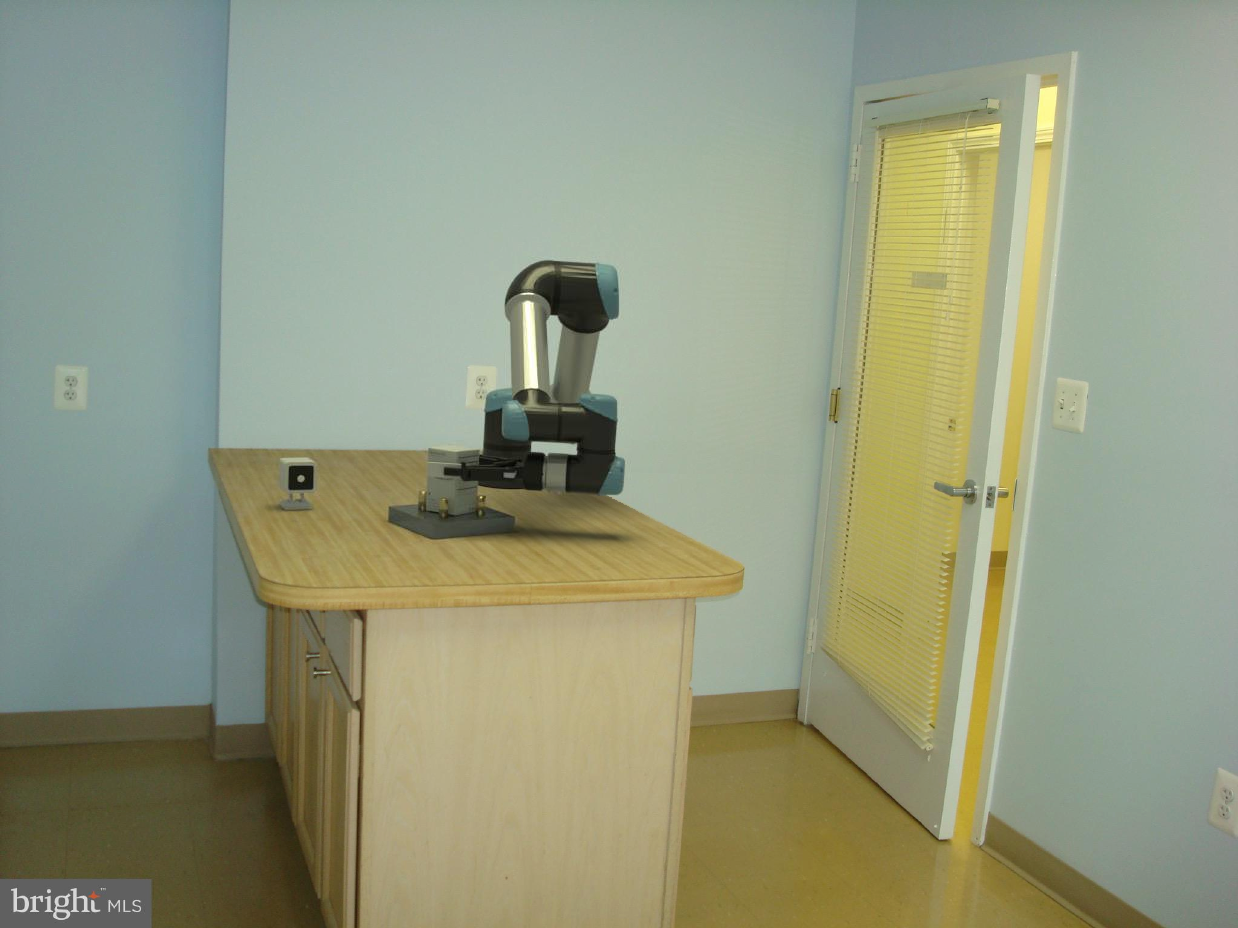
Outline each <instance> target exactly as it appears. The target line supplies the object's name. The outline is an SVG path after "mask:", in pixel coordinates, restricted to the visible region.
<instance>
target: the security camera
mask: <svg viewBox="0 0 1238 928" xmlns="http://www.w3.org/2000/svg"><path fill="white" fill-rule="evenodd" d="M317 477H318V464H317V462H316V461H314V460H312V459H311V458H310V457H281V458H280V459H279V461H278V487H279V488H280V489H282V491H284V492H285V493H286V494H288V498H280V499H279V506H280V507H281V508H282V509H284V510H285V511H293V510H295V511H296V510H297V511H298V510H312V509H313V502H311V500H309V499H308V498H306V497H305V494H311V493H312V494H313V493H316V491H317V487H318V486H317V484H318V483H317V482H318V478H317ZM293 494H299V496H300V497H299V498H294V496H293Z"/></svg>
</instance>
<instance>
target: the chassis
mask: <svg viewBox="0 0 1238 928" xmlns="http://www.w3.org/2000/svg"><path fill="white" fill-rule="evenodd" d="M486 496H487V495H483V494H481V495H479V494H477V497H476V511H475V512H471V513H466V514H461V515H456V516H454V515H450V514H448V510H449V498H439V512H435V511H427V510H426V499H427V490H418V499H417V500H418V503H417V504H415V503H413V504H403V505H389V506H388V511H387V512H388V514H387V516H388V518H387V519H388V520H387V521H388V522H389V523H391V524H394V525H396V526H399V527H401V528H404V529H407V530H409V531H412V532H414V533H416V534H418V535H422V536H423V537H426V538H428V539H431V540H439V539H440V540H441V539H449V538H459V537H460V538H463V537H471V536H472V537H474V536H483V535H494V534H504V533H515V529H516V528H515V526H516V516H514V515H512V514H510V513H509V514H508V513H506V512H502V511H500V510H496V509H494V508H491V507H487V506H486V501H487V497H486Z"/></svg>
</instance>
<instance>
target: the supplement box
mask: <svg viewBox="0 0 1238 928" xmlns="http://www.w3.org/2000/svg"><path fill="white" fill-rule="evenodd" d="M480 451H481V449H480V448H475V447H467V446H461V445H454V444H445V445H436V446H429V447H428V453H427V455H428V456H427V462H437V463H452V464H461V462H465V463H466V466H468V465H479V454H480ZM426 479H427V480H426V481H427V482H426V491H427V499H426V510H427V511H435V512H439V498H449V510H448V514H450V515H454V516H456V515H461V514H466V513H471V512H475V511H476V497H477V496H478V495H479V494H478V492H479V484H478V481H463V479H457V478H441V477H427V476H426Z"/></svg>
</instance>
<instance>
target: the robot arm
mask: <svg viewBox="0 0 1238 928" xmlns="http://www.w3.org/2000/svg"><path fill="white" fill-rule="evenodd" d="M618 276H619V275H618V270H617V269H616V268H615V266H613V265H611V264H607V263H600V262H580V261H567V260H566V261H565V260H564V261H563V260H553V259H547V260H546V259H544V260H538V261H537V262H536V261H535V262H534V263H531V264H530V265H528V266H527V267H525V268H524V269H522V270H521V271H520V272H519V273H518V274H517V275H516V276H515V277H514V278H513V280H512V282H511V283H510V285H509V287H508V288H507V292H506V295H505V298H504V316H505V317H506V319H507V321H508V322H509V333H510V334H509V336H510V337H509V338H510V341H509V342H510V374H511V375H510V376H511V378H510V379H511V380H510V381H511V384H510V385H511V387H507V388H500V389H499V388H498V389H495V390H491V391H489V392H488V393H487V395H486V396H485V404H484V409H483V412H484V425H483V426H484V428H483V442H482V443H483V446H482V452H481V453H479V465H468V466H466V463H465V462H461V464H452V463H437V462H428V461H427V463H426V464H427V465H426V478H427V477H441V478H457V479H463V481H478V486H479V485H480V486H484V487H489V488H499V489H524V490H526V491H531V492H532V491H535V492H542V491H543V490H544V489H545V491H546V492H555V493H556V495H557V496H560V495H562V493H567V494H568V493H569V494H583V495H584V494H585V495H594V496H595V495H596V496H618V495H620V494H621V493H623V491H624V483H625V470H626V469H625V467H626V461H625V459H624V458H623V457H621V456H618V455H616V454H617V451H616V443H617V430H618V429H617V428H618V427H617V426H618V422H619V419H618V401H617V399H616V397H615V396H613V395H610V394H603V393H592V392H591V391H590V386H591V381H592V375H593V370H594V365H595V360H596V354H597V349H598V345H599V344H598V343H599V339H600V333H601V332H602V331H604V330H605V329H606V328H607V326H608V325H609V322H610V321H612V320H615V319H618V318H619V316H620V287H619V277H618ZM550 316H555V317H557V320H558V322H559V323H560V324H561V330H560V337H559V344H558V350H557V357H556V362H555V363H556V364H555V370H554V376H553V383H551V382H550V364H549V344H548V343H549V342H548V328H547V325H548V324H547V322H548V320H549V318H550ZM533 442H534V443H535V442H536V443H550V444H551V443H552V444H553V443H554V444H555V443H556V444H571V445H576V454H571V453H563V452H561V453H560V452H559V453H558V452H548V454H547V455H546V453H544V452H540V451H539V452H538V451H532V444H533Z"/></svg>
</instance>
